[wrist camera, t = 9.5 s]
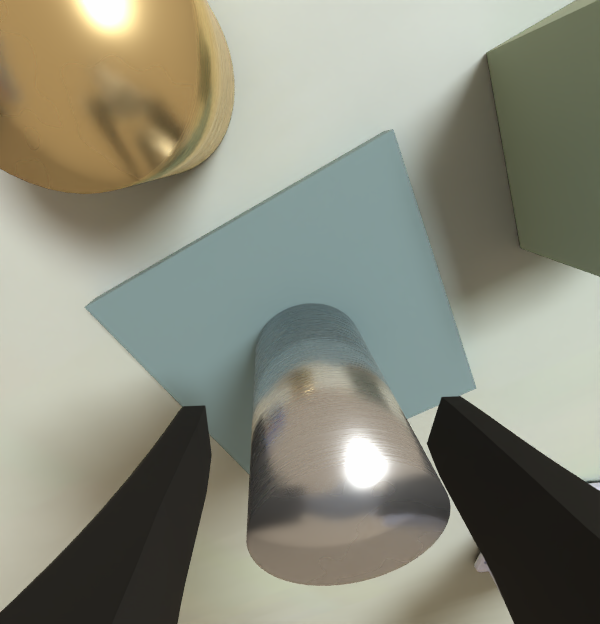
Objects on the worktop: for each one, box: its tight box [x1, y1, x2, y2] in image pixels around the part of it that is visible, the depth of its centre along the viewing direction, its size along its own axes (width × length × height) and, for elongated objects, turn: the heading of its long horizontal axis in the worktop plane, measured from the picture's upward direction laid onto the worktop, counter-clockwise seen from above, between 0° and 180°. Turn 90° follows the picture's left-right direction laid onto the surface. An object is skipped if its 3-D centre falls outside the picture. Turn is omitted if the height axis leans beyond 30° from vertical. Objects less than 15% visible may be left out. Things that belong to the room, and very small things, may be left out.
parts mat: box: [85, 130, 476, 475], centre depth 13 cm, size 12×12×1 cm
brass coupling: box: [0, 0, 234, 194], centre depth 7 cm, size 5×5×4 cm
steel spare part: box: [246, 303, 450, 586], centre depth 10 cm, size 4×4×7 cm
